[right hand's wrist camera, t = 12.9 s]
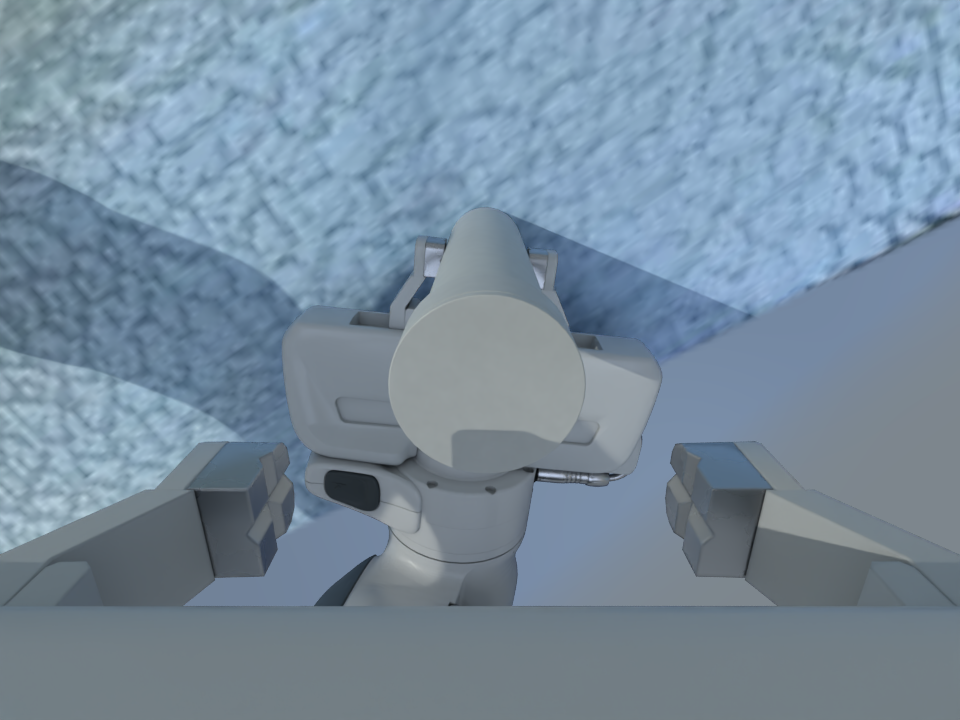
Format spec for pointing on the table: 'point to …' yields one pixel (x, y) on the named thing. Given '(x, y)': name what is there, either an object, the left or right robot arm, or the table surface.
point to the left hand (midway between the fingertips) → (486, 244)
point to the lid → (486, 375)
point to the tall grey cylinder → (485, 249)
